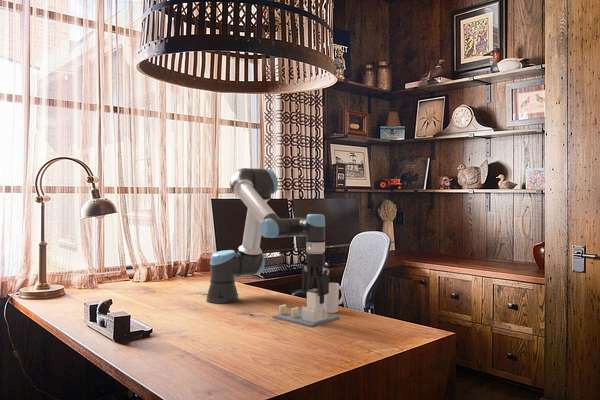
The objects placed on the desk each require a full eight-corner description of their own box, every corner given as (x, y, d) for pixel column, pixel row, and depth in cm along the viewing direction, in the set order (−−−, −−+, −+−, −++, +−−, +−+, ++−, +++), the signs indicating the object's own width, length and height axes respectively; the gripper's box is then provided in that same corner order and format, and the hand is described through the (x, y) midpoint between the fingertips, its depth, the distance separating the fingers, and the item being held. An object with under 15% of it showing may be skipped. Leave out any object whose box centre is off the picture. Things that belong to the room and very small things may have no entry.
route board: (272, 317, 204) (272, 304, 204) (301, 310, 218) (301, 298, 218) (311, 327, 191) (311, 313, 190) (339, 318, 204) (339, 305, 204)
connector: (306, 319, 198) (306, 289, 198) (313, 317, 201) (314, 288, 201) (315, 321, 195) (315, 291, 195) (322, 319, 198) (322, 289, 198)
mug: (327, 313, 212) (328, 285, 212) (320, 310, 218) (320, 283, 218) (347, 311, 216) (348, 284, 216) (340, 308, 222) (340, 281, 222)
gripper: (293, 251, 201) (292, 308, 201) (326, 255, 189) (326, 315, 190) (305, 250, 207) (304, 305, 207) (338, 253, 195) (338, 312, 195)
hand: (315, 310), depth 198 cm, fingers closed on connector, 4 cm apart
